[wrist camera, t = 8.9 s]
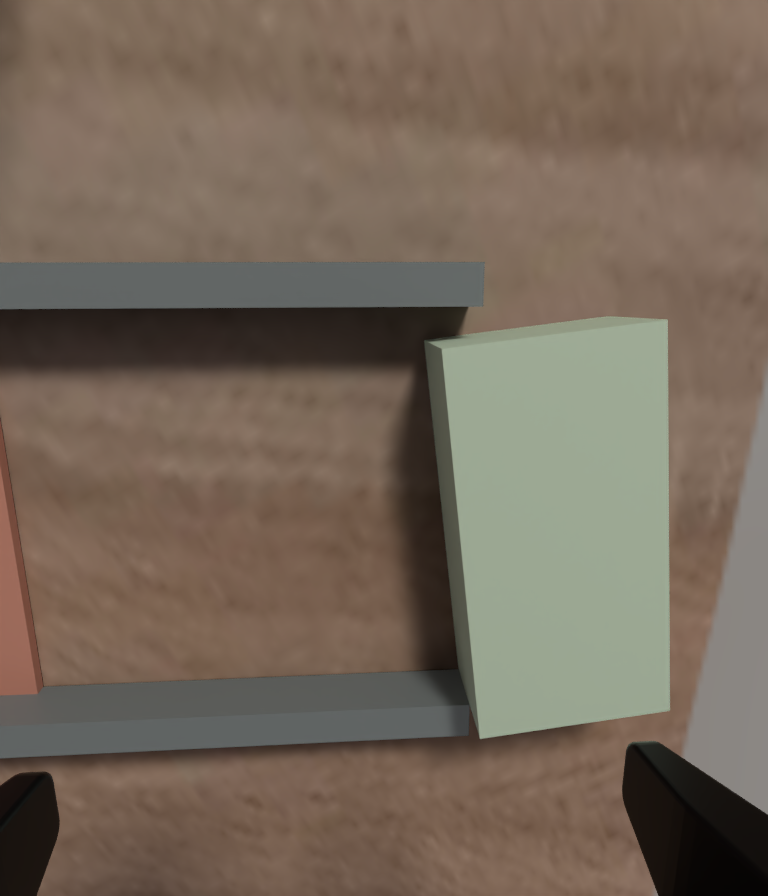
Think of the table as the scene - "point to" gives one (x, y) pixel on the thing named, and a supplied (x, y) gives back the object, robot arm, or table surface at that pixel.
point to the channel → (221, 700)
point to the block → (556, 518)
